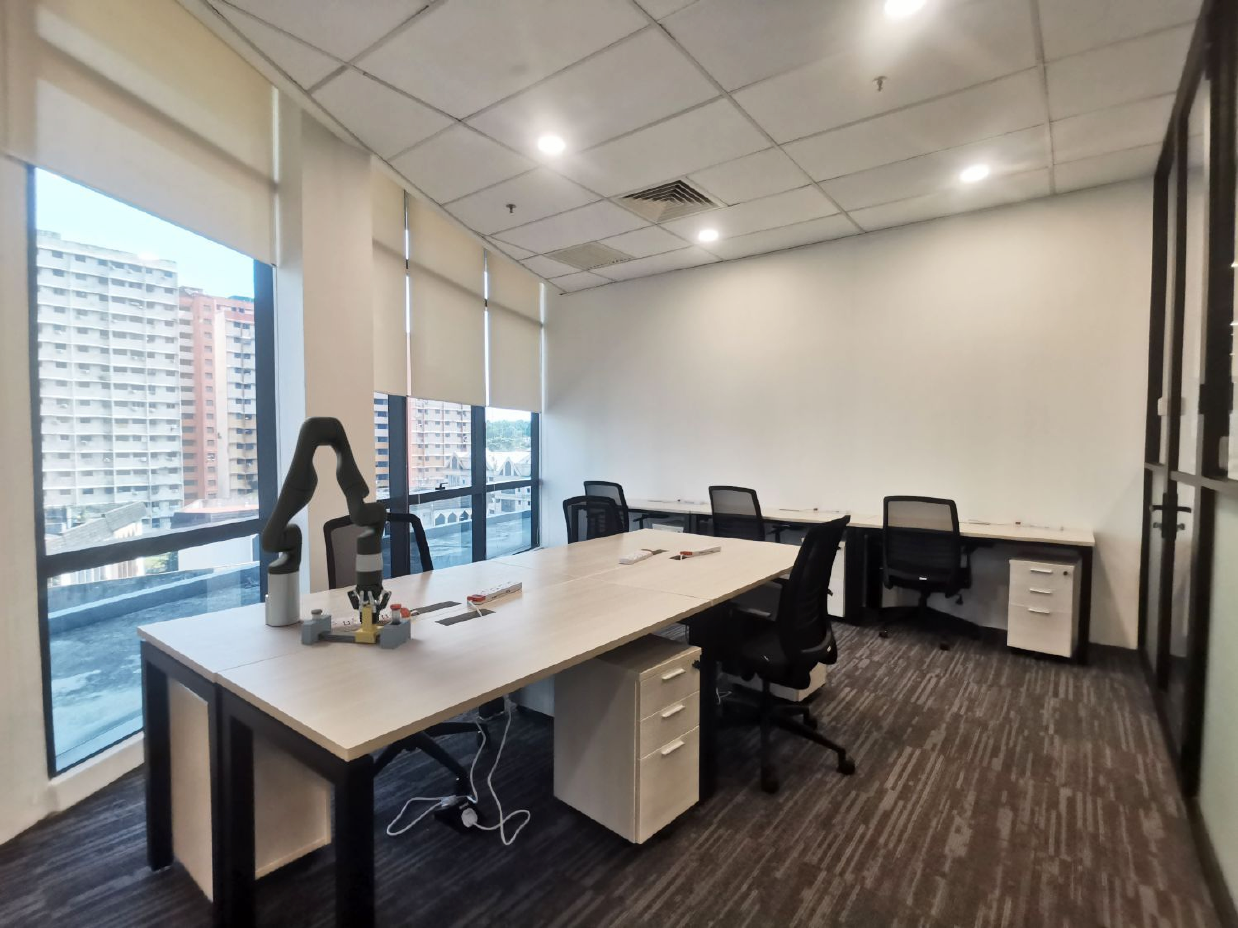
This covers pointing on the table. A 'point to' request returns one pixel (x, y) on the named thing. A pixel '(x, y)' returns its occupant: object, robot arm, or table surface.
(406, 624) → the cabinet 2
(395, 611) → the plunger
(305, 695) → the table surface
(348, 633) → the rail
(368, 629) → the carriage
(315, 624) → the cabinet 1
